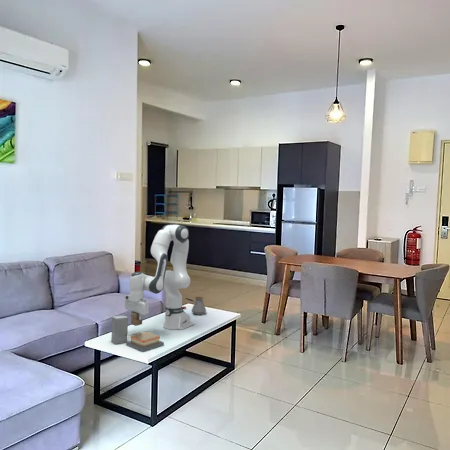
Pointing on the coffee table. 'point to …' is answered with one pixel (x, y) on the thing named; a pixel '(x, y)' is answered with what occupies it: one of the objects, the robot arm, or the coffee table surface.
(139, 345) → the stand
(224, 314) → the coffee table surface
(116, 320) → the skincare box
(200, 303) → the coffee pot
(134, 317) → the walnut column
